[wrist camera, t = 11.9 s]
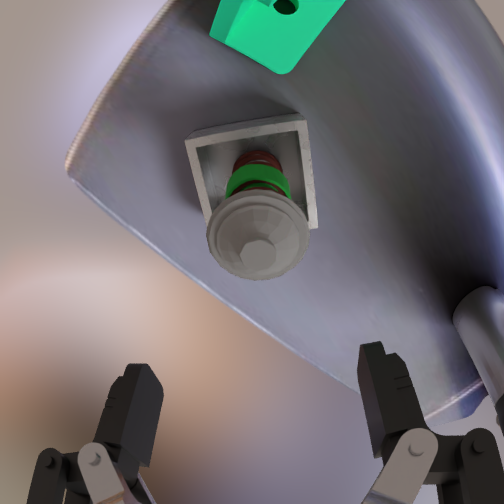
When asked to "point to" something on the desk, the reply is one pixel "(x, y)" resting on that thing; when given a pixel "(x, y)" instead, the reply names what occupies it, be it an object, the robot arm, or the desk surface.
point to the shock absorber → (258, 221)
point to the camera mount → (272, 29)
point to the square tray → (245, 140)
